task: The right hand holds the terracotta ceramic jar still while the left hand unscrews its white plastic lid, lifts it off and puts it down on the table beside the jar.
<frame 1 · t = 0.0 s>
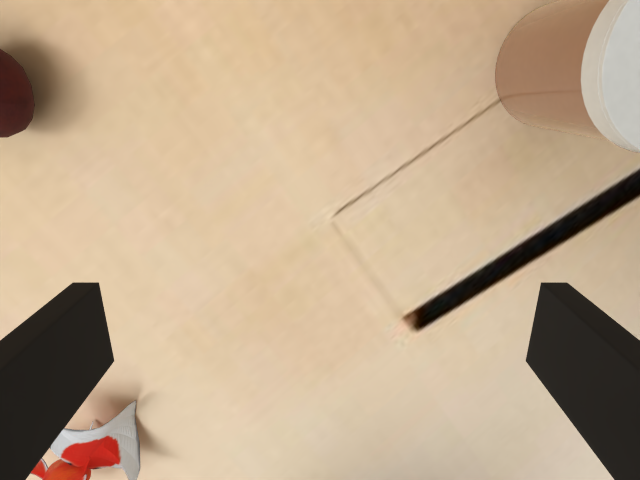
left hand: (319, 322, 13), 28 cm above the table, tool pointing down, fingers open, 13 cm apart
red and white piece: (101, 429, 50), on the table
jar: (553, 67, 36), on the table
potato: (11, 90, 37), on the table
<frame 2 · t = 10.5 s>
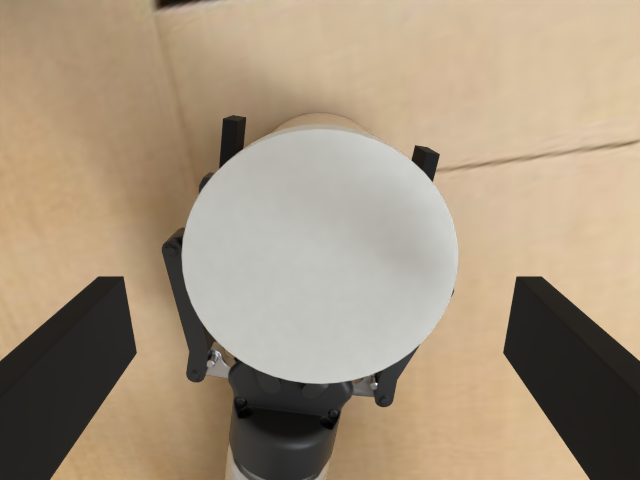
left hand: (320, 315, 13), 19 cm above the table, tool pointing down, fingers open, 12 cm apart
right hand: (332, 133, 23), fingers closed on jar, 10 cm apart
jar: (320, 184, 31), on the table, touching right hand
lid: (319, 267, 17), point 15 cm above the table, screwed on, not yet turned
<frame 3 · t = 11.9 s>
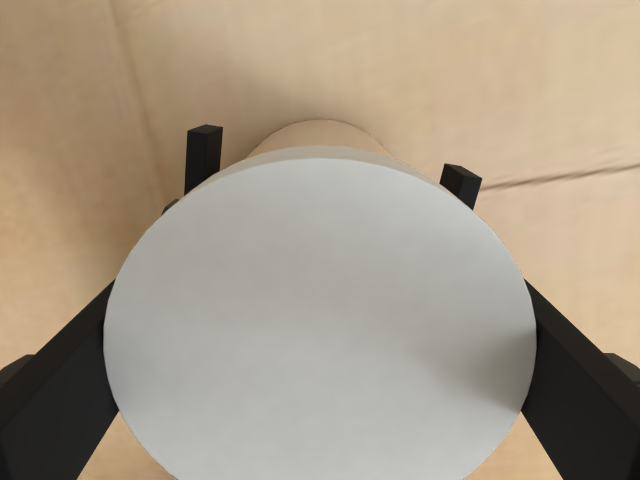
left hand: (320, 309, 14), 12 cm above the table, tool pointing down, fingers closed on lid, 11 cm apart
jar: (320, 206, 25), on the table, touching right hand
lid: (319, 364, 11), point 15 cm above the table, screwed on, not yet turned, touching left hand
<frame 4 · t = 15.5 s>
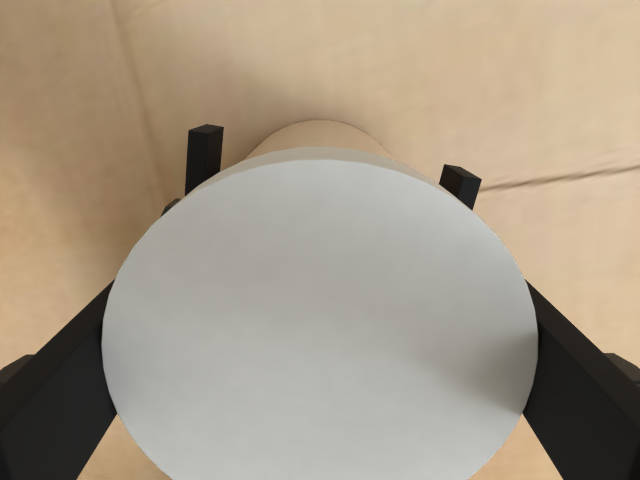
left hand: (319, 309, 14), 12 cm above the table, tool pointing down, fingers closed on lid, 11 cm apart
jar: (319, 207, 25), on the table, touching right hand
lid: (319, 367, 11), point 15 cm above the table, turned 118° so far, risen 0.1 cm, still on its thread, touching left hand
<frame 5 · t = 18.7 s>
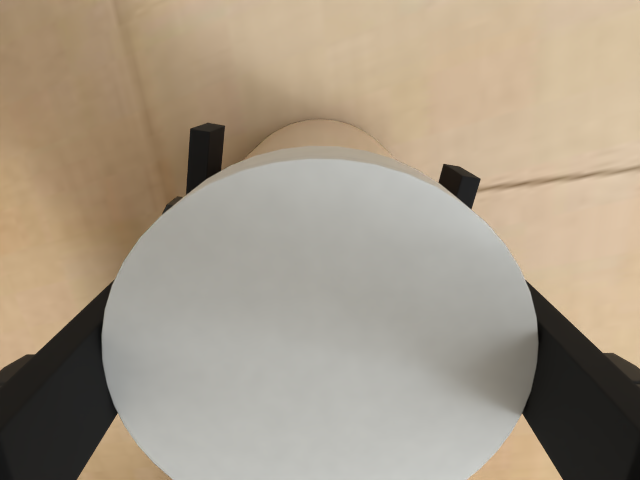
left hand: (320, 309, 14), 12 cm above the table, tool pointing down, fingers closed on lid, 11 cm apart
jar: (319, 206, 25), on the table, touching right hand
lid: (319, 366, 11), point 15 cm above the table, turned 235° so far, risen 0.3 cm, still on its thread, touching left hand
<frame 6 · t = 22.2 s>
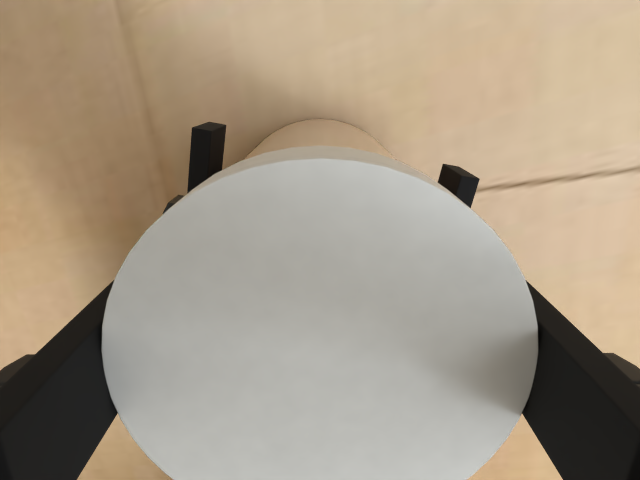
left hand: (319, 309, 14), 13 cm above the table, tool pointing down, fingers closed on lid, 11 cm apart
jar: (319, 205, 25), on the table, touching right hand
lid: (320, 366, 11), point 15 cm above the table, turned 353° so far, risen 0.5 cm, still on its thread, touching left hand
when the left hand's fingers open (0 cm above the table, at t = 28.2 s): lid drops 2 cm, point 2 cm above the table.
when the right hand's fingers open (6 cm above the table, at t = 29.3 s): jar stays where it is, on the table.
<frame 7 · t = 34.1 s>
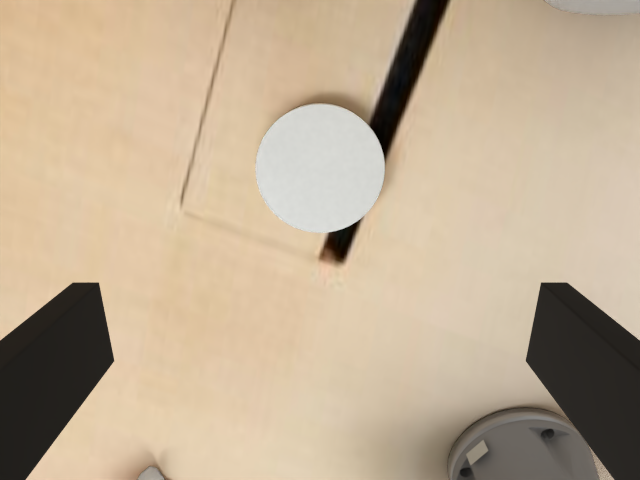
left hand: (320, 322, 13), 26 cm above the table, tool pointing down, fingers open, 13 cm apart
lid: (320, 170, 35), point 2 cm above the table, off its thread
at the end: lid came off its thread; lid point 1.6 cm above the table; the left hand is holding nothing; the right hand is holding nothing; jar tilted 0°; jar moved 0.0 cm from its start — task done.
